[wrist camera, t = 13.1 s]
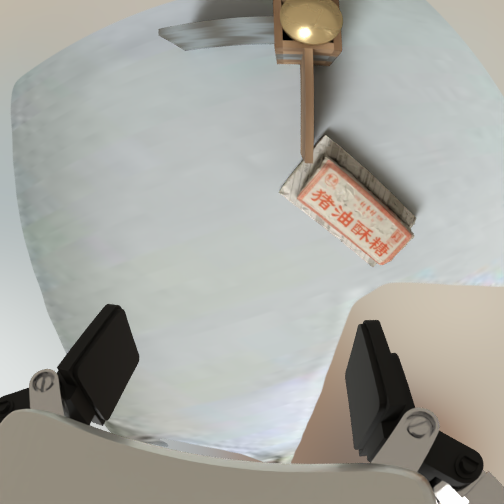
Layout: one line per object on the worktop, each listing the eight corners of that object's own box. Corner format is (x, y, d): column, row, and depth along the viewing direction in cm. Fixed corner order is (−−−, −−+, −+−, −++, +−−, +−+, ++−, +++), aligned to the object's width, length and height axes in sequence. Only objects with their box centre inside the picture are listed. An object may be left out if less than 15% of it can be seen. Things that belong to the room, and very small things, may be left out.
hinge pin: (328, 23, 28) (340, -5, 19) (329, 63, 30) (344, 45, 21) (281, 20, 28) (279, -9, 19) (282, 61, 31) (280, 41, 22)
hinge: (327, 22, 28) (338, -3, 20) (328, 154, 36) (341, 165, 28) (185, 27, 30) (159, 7, 22) (188, 154, 38) (162, 165, 30)
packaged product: (428, 228, 34) (379, 280, 38) (414, 216, 38) (371, 264, 42) (328, 134, 31) (276, 199, 35) (323, 133, 35) (277, 190, 39)
